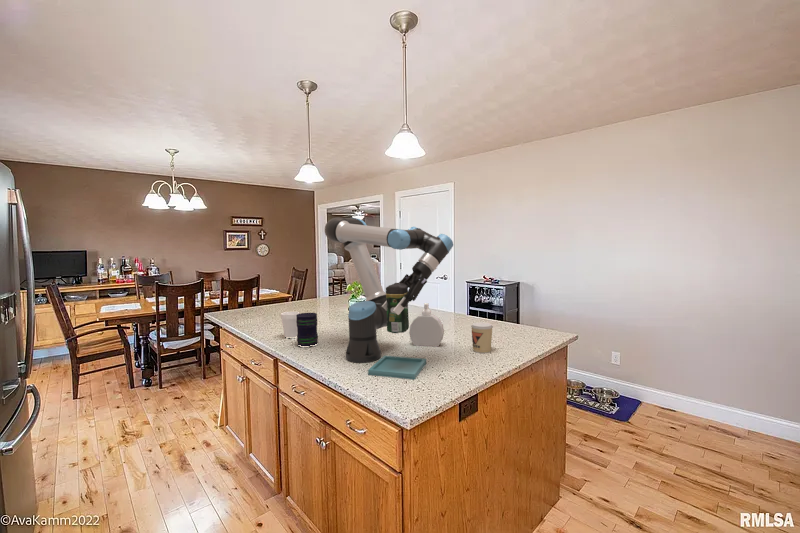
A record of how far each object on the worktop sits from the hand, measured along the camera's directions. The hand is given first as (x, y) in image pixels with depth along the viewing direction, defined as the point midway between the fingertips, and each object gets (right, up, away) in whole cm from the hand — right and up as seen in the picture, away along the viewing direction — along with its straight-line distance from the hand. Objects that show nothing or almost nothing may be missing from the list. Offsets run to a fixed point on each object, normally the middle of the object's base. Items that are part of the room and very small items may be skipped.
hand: (389, 310), depth 142 cm
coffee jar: (+3, -8, +2) cm, 9 cm away
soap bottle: (+17, -21, +35) cm, 44 cm away
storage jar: (-41, -21, +39) cm, 61 cm away
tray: (+3, -23, +3) cm, 23 cm away
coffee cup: (+40, -21, +25) cm, 52 cm away
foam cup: (-53, -21, +53) cm, 78 cm away
